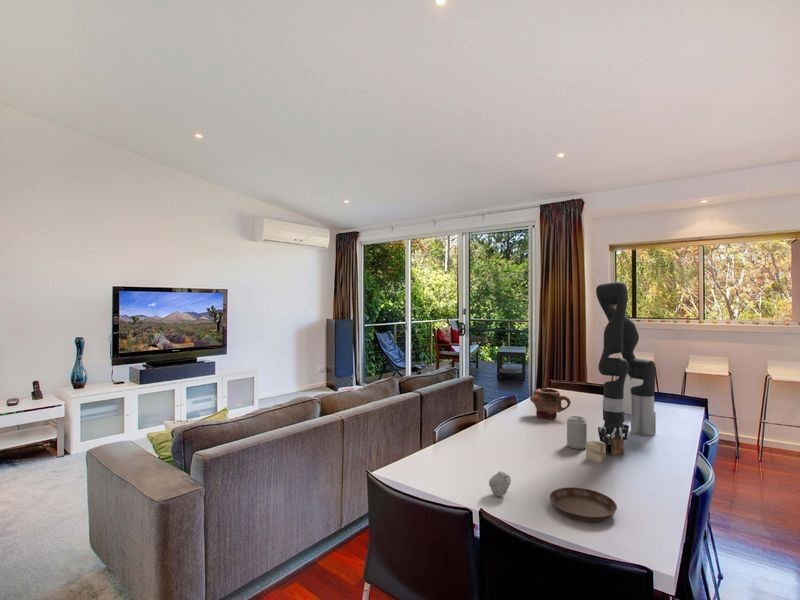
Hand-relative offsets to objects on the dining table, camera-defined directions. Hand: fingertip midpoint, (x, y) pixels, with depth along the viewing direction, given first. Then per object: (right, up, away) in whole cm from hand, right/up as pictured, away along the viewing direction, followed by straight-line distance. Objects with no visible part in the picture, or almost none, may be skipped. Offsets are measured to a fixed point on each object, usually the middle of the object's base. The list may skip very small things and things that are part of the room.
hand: (613, 452), depth 166 cm
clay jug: (-7, -1, +51) cm, 51 cm away
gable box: (+43, -1, +66) cm, 79 cm away
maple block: (-10, -1, -6) cm, 11 cm away
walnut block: (0, 0, 0) cm, 0 cm away
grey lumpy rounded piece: (-53, -1, -35) cm, 64 cm away
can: (-11, -1, +8) cm, 14 cm away
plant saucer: (-32, -1, -45) cm, 55 cm away
